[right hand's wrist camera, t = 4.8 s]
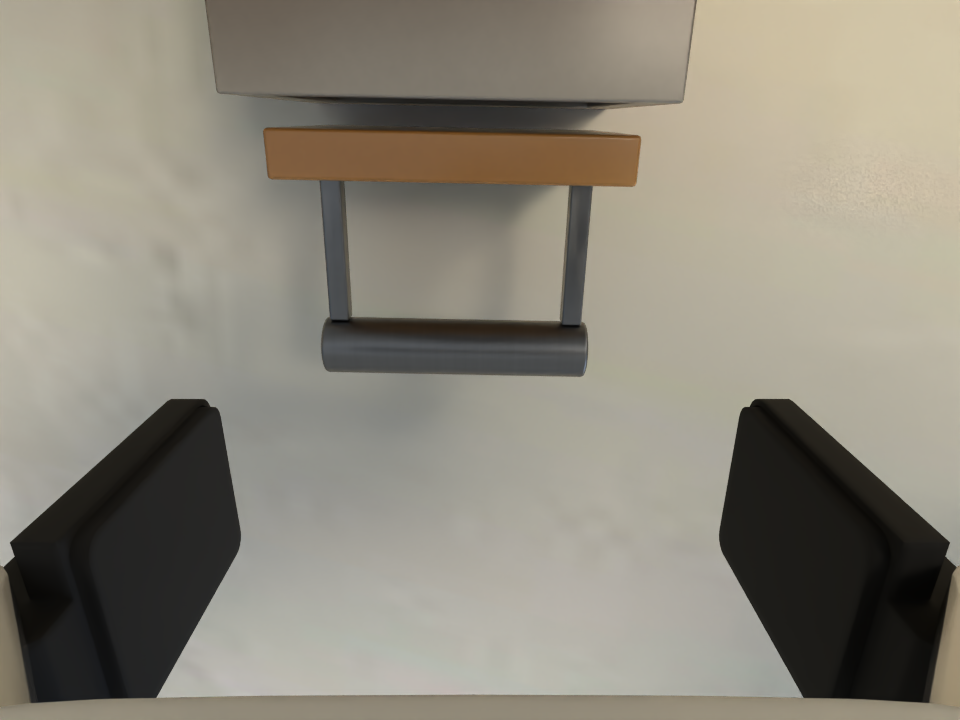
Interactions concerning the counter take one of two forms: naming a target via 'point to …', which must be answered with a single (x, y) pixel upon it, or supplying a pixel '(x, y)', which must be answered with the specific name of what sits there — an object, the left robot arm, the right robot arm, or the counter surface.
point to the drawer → (453, 160)
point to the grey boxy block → (454, 51)
